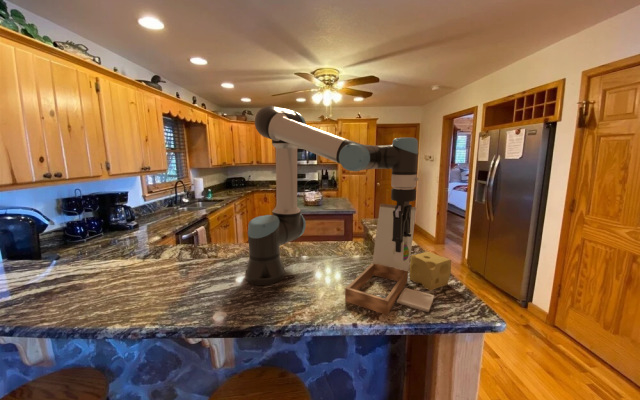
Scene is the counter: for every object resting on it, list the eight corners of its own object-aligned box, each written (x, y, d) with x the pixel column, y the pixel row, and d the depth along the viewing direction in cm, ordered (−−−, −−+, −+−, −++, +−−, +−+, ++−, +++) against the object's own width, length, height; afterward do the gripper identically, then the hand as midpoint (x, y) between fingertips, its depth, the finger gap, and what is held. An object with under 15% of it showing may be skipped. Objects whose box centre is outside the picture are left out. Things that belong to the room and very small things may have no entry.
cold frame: (345, 301, 85) (346, 260, 83) (376, 268, 109) (377, 236, 107) (387, 315, 78) (389, 271, 75) (410, 277, 102) (412, 243, 99)
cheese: (430, 291, 91) (432, 264, 90) (407, 278, 101) (408, 254, 99) (449, 285, 96) (452, 259, 94) (426, 273, 105) (428, 249, 104)
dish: (397, 302, 84) (397, 300, 84) (404, 290, 92) (405, 287, 92) (428, 312, 79) (429, 309, 79) (434, 298, 87) (434, 295, 87)
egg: (408, 257, 87) (408, 239, 87) (409, 262, 83) (410, 244, 82) (393, 256, 89) (393, 239, 88) (393, 261, 84) (394, 243, 83)
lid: (380, 203, 105) (380, 203, 106) (372, 262, 104) (373, 262, 105) (415, 207, 98) (416, 207, 99) (408, 271, 97) (408, 270, 98)
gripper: (408, 191, 73) (405, 270, 76) (422, 185, 87) (418, 251, 91) (382, 190, 76) (380, 265, 80) (399, 184, 91) (397, 248, 95)
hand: (400, 257), depth 86 cm, fingers closed on egg, 5 cm apart
